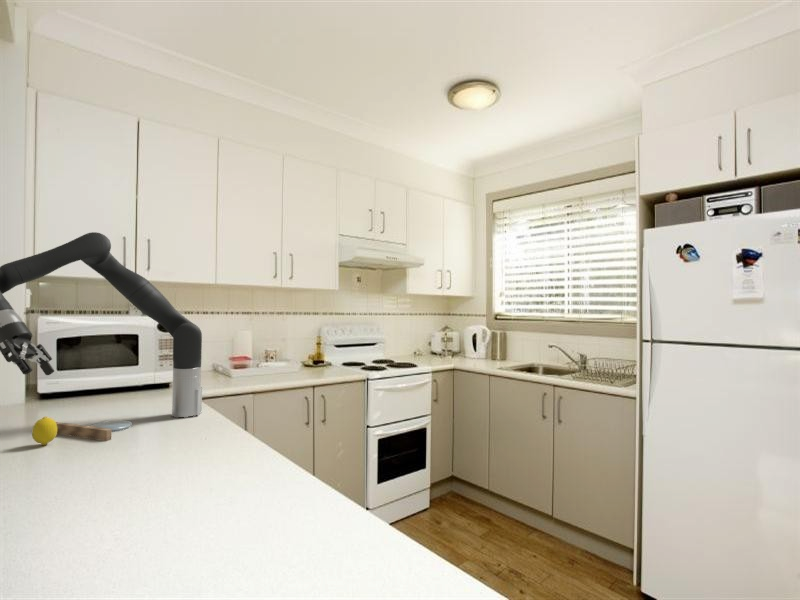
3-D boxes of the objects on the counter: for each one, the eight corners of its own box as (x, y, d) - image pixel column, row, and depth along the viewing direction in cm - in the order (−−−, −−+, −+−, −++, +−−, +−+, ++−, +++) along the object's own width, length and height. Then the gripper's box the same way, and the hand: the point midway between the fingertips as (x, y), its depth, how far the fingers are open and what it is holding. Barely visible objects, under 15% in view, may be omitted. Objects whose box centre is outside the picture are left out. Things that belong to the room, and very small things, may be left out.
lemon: (43, 449, 122) (43, 419, 122) (26, 447, 123) (27, 418, 123) (62, 443, 127) (62, 415, 127) (46, 441, 128) (46, 413, 128)
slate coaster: (137, 422, 150) (137, 420, 150) (122, 432, 139) (122, 429, 139) (97, 423, 148) (97, 421, 148) (79, 433, 136) (79, 431, 136)
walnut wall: (49, 432, 137) (49, 422, 137) (54, 431, 139) (54, 421, 139) (106, 440, 130) (106, 430, 130) (111, 439, 131) (111, 429, 131)
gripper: (0, 317, 121) (33, 363, 120) (39, 324, 135) (68, 365, 134) (-25, 334, 120) (7, 381, 118) (16, 339, 134) (46, 381, 132)
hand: (40, 373), depth 126 cm, fingers open, 8 cm apart
